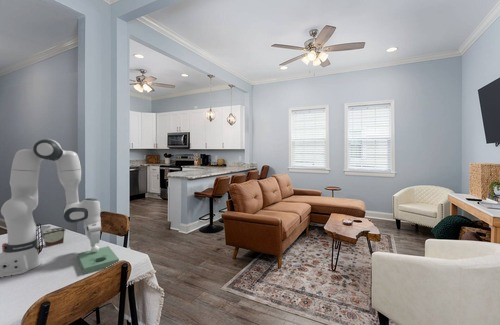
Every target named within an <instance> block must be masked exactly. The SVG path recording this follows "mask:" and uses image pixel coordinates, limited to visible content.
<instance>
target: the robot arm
mask: <svg viewBox="0 0 500 325" xmlns="http://www.w3.org/2000/svg"><path fill="white" fill-rule="evenodd" d="M44 160H46V161H47V160H48V161H54V162H55V164H56V171H57V177H58V180H59V183H60V184H61V185H62V187H63V189H64V192H65V200H66V201H65V206H64V208H63V219H64V220H65V221H66V222H67V223H70V224H73V223H79V222H82V221H83V229H84V230H85V232H86V237H87V239H89V242H90V248H92V247H93V246H95V245H96V244H97V245H98V244H99V243H100V241H101V240H100V239H101V230H102V222H101V220H102V218H101V202H100V200H98V199H97V198H93V197H91V198H84V199H83V200H82V201H80V199H79V198H80V197H79V185H80V183H81V181H82V166H81V162H80V157H79V155H78V153H77V152H75V151H73V150H64V149H63V146H62V144H61V143H60V142H58V141H57V140H55V139H52V138H43V139H39V140H38V141H36V142H35V143H34V144H33V148H31V149H30V148H23V149H20V150H17V151H16V153H15V154H14V157H13V160H12V164H11V169H10V170H11V171H10V178H9V186H10V193H11V196H10V197H11V198H10V199H8V200H6V201H5V202H4V203H3V205H2V206H1V208H0V214H1V216H2V217H3V218H4V223H5V226H6V230H7V242H4V243H2V244H1V249H2V252H1V253H0V277H1V278H4V277H3V276H6V277H11V275H12V276H17V275H21V274H25V273H27V272H29V271H30V270H32V269H35V268H36V267H39V266H40V265H41V264H42V261H41V259H40V257H39V251H38V248H39V242H38V241H39V240H37V238H36V227H37V225H36V222H35V220H34V215H33V211H34V210H36V209H37V207H38V205H39V178H40V177H39V176H40V170H41V164H42V161H44Z"/></svg>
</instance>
